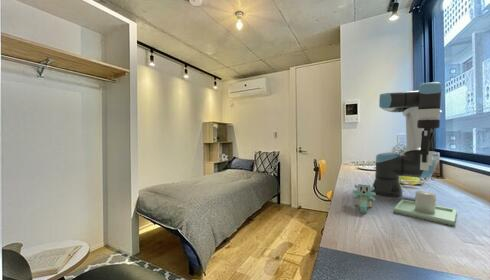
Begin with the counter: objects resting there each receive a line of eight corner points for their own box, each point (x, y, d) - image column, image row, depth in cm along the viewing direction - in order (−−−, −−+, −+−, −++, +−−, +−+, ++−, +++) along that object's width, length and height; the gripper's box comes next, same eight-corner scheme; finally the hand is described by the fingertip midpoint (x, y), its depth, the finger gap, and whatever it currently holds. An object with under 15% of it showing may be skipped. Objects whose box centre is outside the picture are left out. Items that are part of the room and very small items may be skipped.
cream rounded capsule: (413, 211, 100) (414, 193, 99) (416, 206, 105) (417, 190, 104) (434, 215, 95) (435, 196, 94) (436, 210, 100) (436, 193, 99)
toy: (356, 212, 99) (349, 179, 105) (357, 216, 110) (350, 185, 116) (383, 211, 95) (374, 176, 101) (380, 214, 106) (372, 183, 112)
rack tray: (393, 212, 101) (393, 208, 101) (401, 203, 113) (401, 199, 113) (454, 226, 87) (454, 221, 86) (456, 213, 98) (456, 209, 98)
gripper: (436, 119, 86) (434, 173, 87) (442, 118, 103) (440, 164, 105) (412, 119, 91) (410, 171, 92) (421, 119, 108) (420, 162, 110)
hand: (426, 167), depth 99 cm, fingers open, 13 cm apart
